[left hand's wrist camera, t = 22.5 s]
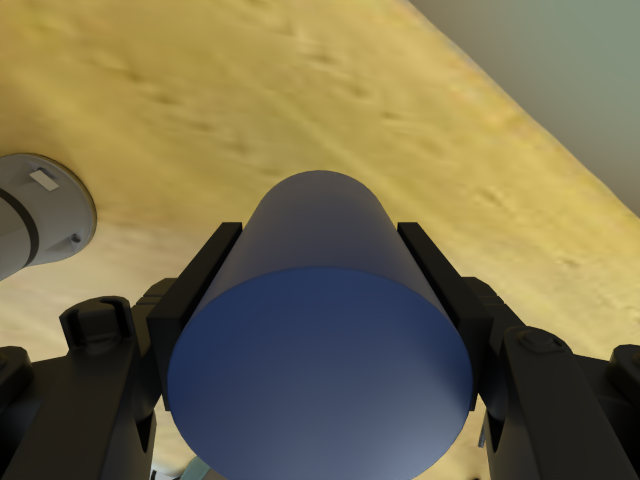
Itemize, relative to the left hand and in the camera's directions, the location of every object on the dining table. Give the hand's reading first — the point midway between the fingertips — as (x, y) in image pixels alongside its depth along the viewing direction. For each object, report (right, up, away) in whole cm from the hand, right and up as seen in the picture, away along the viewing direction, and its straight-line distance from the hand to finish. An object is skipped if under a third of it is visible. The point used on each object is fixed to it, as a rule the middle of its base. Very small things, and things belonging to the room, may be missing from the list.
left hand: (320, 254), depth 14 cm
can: (0, +1, +1) cm, 1 cm away
